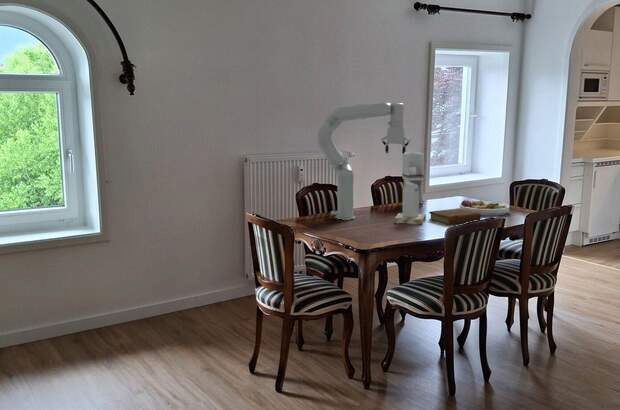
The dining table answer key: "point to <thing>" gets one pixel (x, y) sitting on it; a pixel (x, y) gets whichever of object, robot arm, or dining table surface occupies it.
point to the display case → (414, 172)
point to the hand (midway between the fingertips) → (395, 153)
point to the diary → (454, 216)
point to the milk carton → (410, 201)
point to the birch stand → (410, 219)
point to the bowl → (485, 207)
